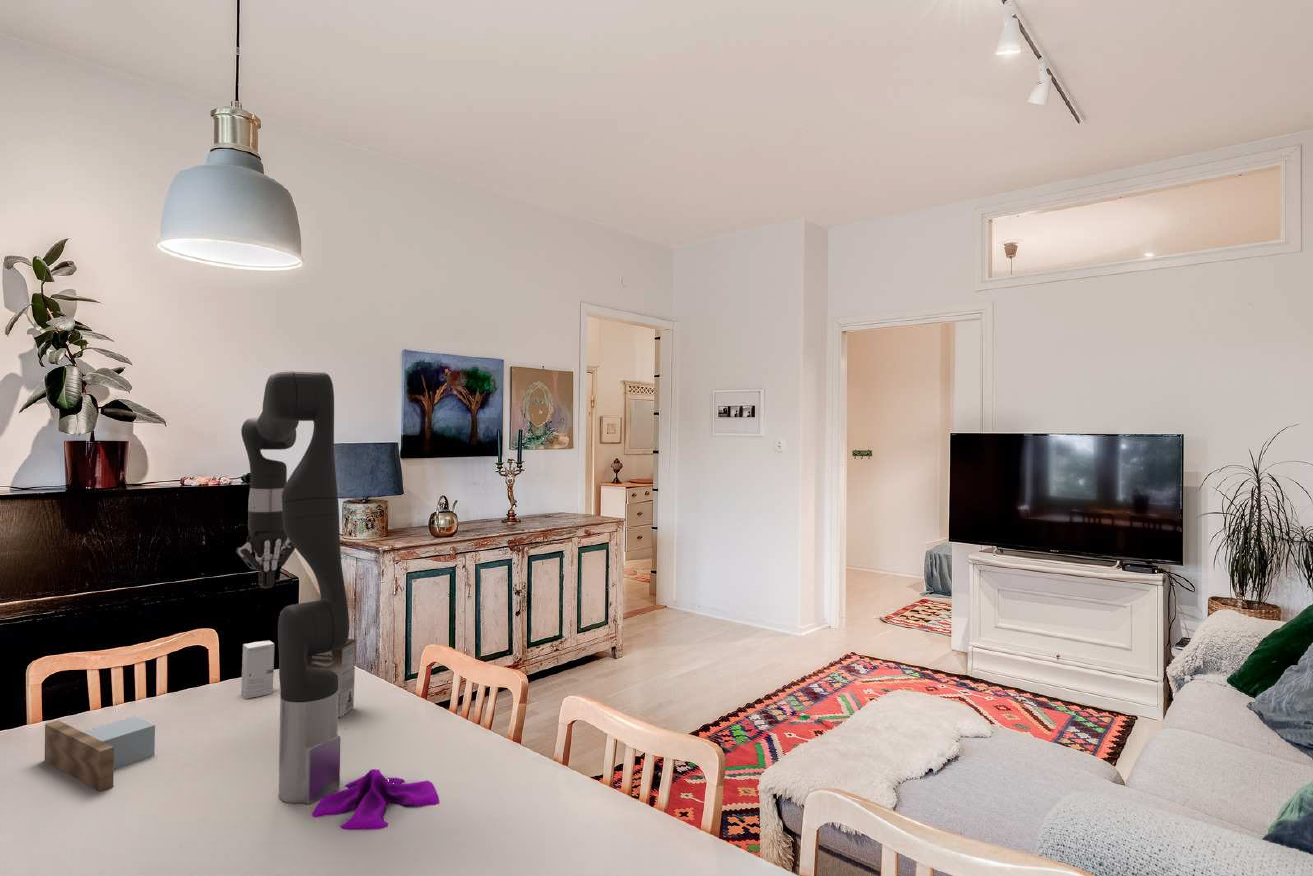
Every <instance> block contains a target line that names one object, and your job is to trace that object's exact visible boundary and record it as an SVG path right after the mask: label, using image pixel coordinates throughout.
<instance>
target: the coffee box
mask: <svg viewBox="0 0 1313 876" xmlns="http://www.w3.org/2000/svg"><path fill="white" fill-rule="evenodd" d="M306 664H307V666H309V667H314V668H322V669H328V670H331V671H333V672H335V673H336V674H337V675H338V717H341V716H342V715H343V714H345V713H346V714H347V712H348V711H349V710H350V711H352V710H353V709H354V708H353V707H355V706H354V705H355V676H356V675H355V674H356V673H355V672H356V670H355V669H356V639H353V638H348V641H347V643H346V645H345V646H344V647H343V648H341V649H338V650H334V651H330V652H325V653H320V654H315V655H311V656H306ZM352 708H353V709H352ZM351 709H352V710H351ZM350 711H349V712H350ZM349 712H348V713H349ZM346 714H345V715H346ZM342 717H343V716H342ZM342 717H341V718H342Z"/></svg>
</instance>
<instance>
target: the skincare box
mask: <svg viewBox="0 0 1313 876" xmlns="http://www.w3.org/2000/svg"><path fill="white" fill-rule="evenodd" d="M241 657H242V661H241V664H242V666H241V693H240V694H241V696H242V697H243V696H244V697H243V698H244V699H245V700H246V699H251V698H258V697H261V696H267V695H271V694H273V692H274V669H275V667H274V666H275V643H274V642H272V641H271V640H269V639H268V640H262V641H253V642H249V643H243V644H242V656H241Z"/></svg>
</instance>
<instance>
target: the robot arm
mask: <svg viewBox="0 0 1313 876" xmlns="http://www.w3.org/2000/svg"><path fill="white" fill-rule="evenodd" d="M334 391H335V390H334V384H333V380H332V378H331V376H330V375H329V373H327V372H324V371H313V370H312V371H307V370H278V371H277V370H276V371H275V372H272V373H271V374H270V375H269V376H268V378H267V381H266V384H265V387H264V395H263V398H262V399H263V400H262V410H261V413H260V415H259V416H258V417H257V416H256V417H255V416H253V417H249V418H247V419H246V420H245V421H244V422H243V424H242V425H241V429H240V430H241V437H242V438H241V439H242V441H243V444H244V447H245V450H246V453H247V457H248V462H249V475H250V476H249V477H250V478H249V479H250V480H249V482H250V484H249V493H248V502H247V503H248V506H247V507H248V509H247V512H248V513H247V514H248V517H247V519H248V520H247V529H248V536H247V537H246V543H245V544H244V545H242V546H241V547H237V548H236V550H235V553H236V554H237V555H238V556H239V557H240V559H242V561H244V563H245V564H246V565H247V567H248V568H250V569H251V570H256V571H258V586H260V588H261V589H264V590H265V589H271V588H273V587H274V586H273V585H274V584H275V583H276V570H277V568H279V567H284V565H285V564H286V563H287V561H289V558H290V556H291V555H292V554H293V552H294V551H295V549H296V551H297V553H299V554H300V556H301V557H302V558H303V559H304V560H305V562H306V563H307V564H308V566H309V567H310V569H311V570H312V572H313V574H314V576H315V579H316V582H317V586H318V590H319V594H320V600H313V601H307V602H301V603H299V602H298V603H296V604H295V603H293V604H290V605H287V606H285V607H284V608H282V610H281V611H280V614H279V616H278V621H277V622H278V624H277V643H278V662H279V663H278V677H279V678H278V679H279V687H280V688H279V689H280V692H279V693H280V696H279V703H280V704H279V747H278V750H279V753H278V758H279V759H278V797H279V799H280V800H281V801H283V802H286V803H293V804H295V803H300V804H301V803H304V804H306V805H307V804H311V803H314V802H315V801H318V800H321V799H322V798H323V797H325V796H327V795H330V794H332V793H335V792H338V791H340V789H341V741H342V739H341V736H340V735H338V730H339V729H338V727H339V726H338V725H339V723H338V722H339V718H338V675H337V674H336V673H335V672H333V671H331V670H328V669H322V668H314V667H309V666H307V664H306V656H311V655H315V654H320V653H325V652H330V651H334V650H338V649H341V648H343V647H344V646H345V645H346V643H347V641H348V639H349V636H350V614H349V607H348V606H349V605H348V599H347V592H346V587H345V585H346V584H345V580H344V573H343V572H344V571H343V564H342V553H341V550H342V549H341V534H340V533H341V531H340V529H341V527H340V507H339V493H338V483H337V474H336V472H337V471H336V461H335V393H334ZM299 422H313V432H312V437H311V440H310V442H309V444H308V447H307V449H306V450H305V452H304V455H302V458H301V459H300V461H299V462H298V464H297V466H296V467H295V468H294V470H293V472H292V473H291V474H290V476H289V478H287V477H288V476H287V474H288V470H287V469H288V467H287V464H286V463H285V462H284V461H280V460H276V459H275V460H274V459H271V458H270V459H269V458H266V457H265V456H263V453H262V450H263V451H265V450H267V451H268V450H278V451H279V450H280V451H282V450H287V449H290V448H292V447H293V446H294V445H295V443H296V440H297V428H298V426H299ZM287 479H288V480H287ZM253 552H254V553H255V554H254V555H255V556H254V555H253V554H252V553H253Z"/></svg>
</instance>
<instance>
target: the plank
mask: <svg viewBox="0 0 1313 876" xmlns="http://www.w3.org/2000/svg"><path fill="white" fill-rule="evenodd" d="M44 760H45V762H46V763H48V764H49V765H51V766H53V765H54V766H53V767H55V768H57V769H59V770H60V769H61V770H60V771H63V772H64V773H66V774H67V775H69V774H70V775H69V776H71V777H73V778H75V779H77V780H78V779H79V780H78V781H79V782H82V783H84V784H85V785H87V786H89V787H91V788H93V789H95V790H96V791H98V792H102V791H104V790H105V791H106V790H109V789H110V787H111V788H113V787H114V771H115V769H114V747H113V746H111V745H109V744H106V743H104V742H102V741H100V740H98V739H96V738H94V737H92V736H90V735H88V734H86V733H84V732H83V731H81V730H79V729H78V728H75V727H73V726H71V725H69V724H67V723H65V722H62V721H61V720H58V719H57V720H55V721H54V720H53V721H50V722H47V723H44Z"/></svg>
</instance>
